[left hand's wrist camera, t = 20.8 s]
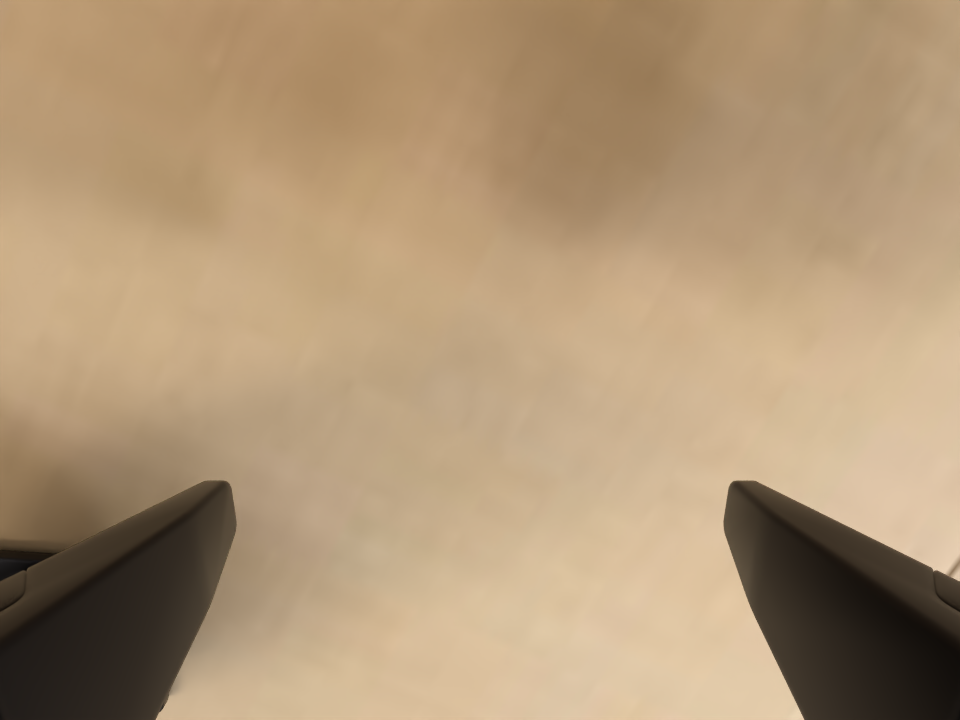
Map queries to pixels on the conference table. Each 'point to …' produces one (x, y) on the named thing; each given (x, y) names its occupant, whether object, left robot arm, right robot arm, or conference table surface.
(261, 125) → the conference table surface
